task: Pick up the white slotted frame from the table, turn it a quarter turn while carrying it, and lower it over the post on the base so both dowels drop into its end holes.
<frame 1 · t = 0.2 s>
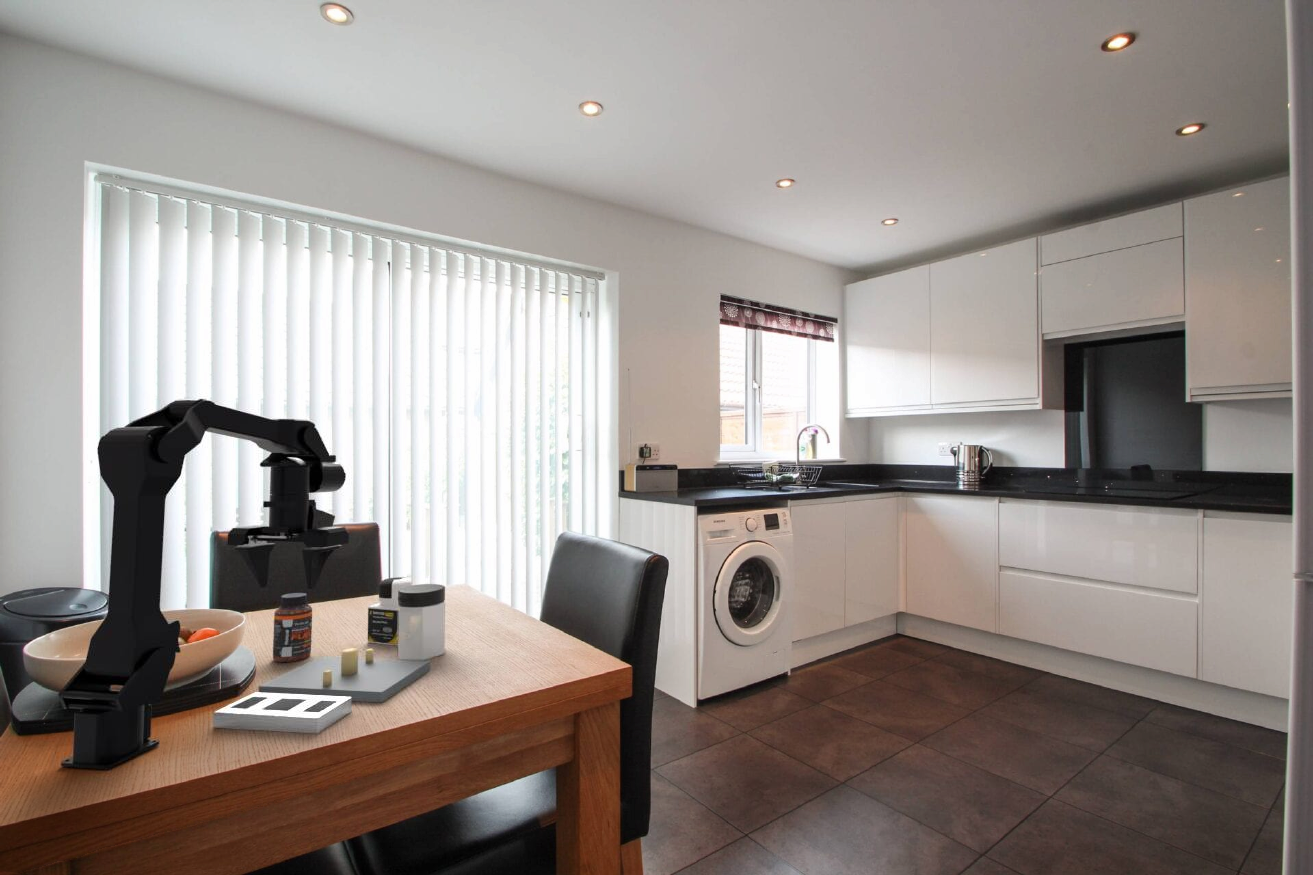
hand: (287, 588, 100), 14 cm above the table, tool pointing down, fingers open, 9 cm apart
medicine bottle: (394, 640, 120), on the table
jar: (421, 654, 111), on the table
post base: (349, 682, 96), on the table
supplement bottle: (292, 659, 108), on the table
white slotted frame: (284, 719, 82), on the table
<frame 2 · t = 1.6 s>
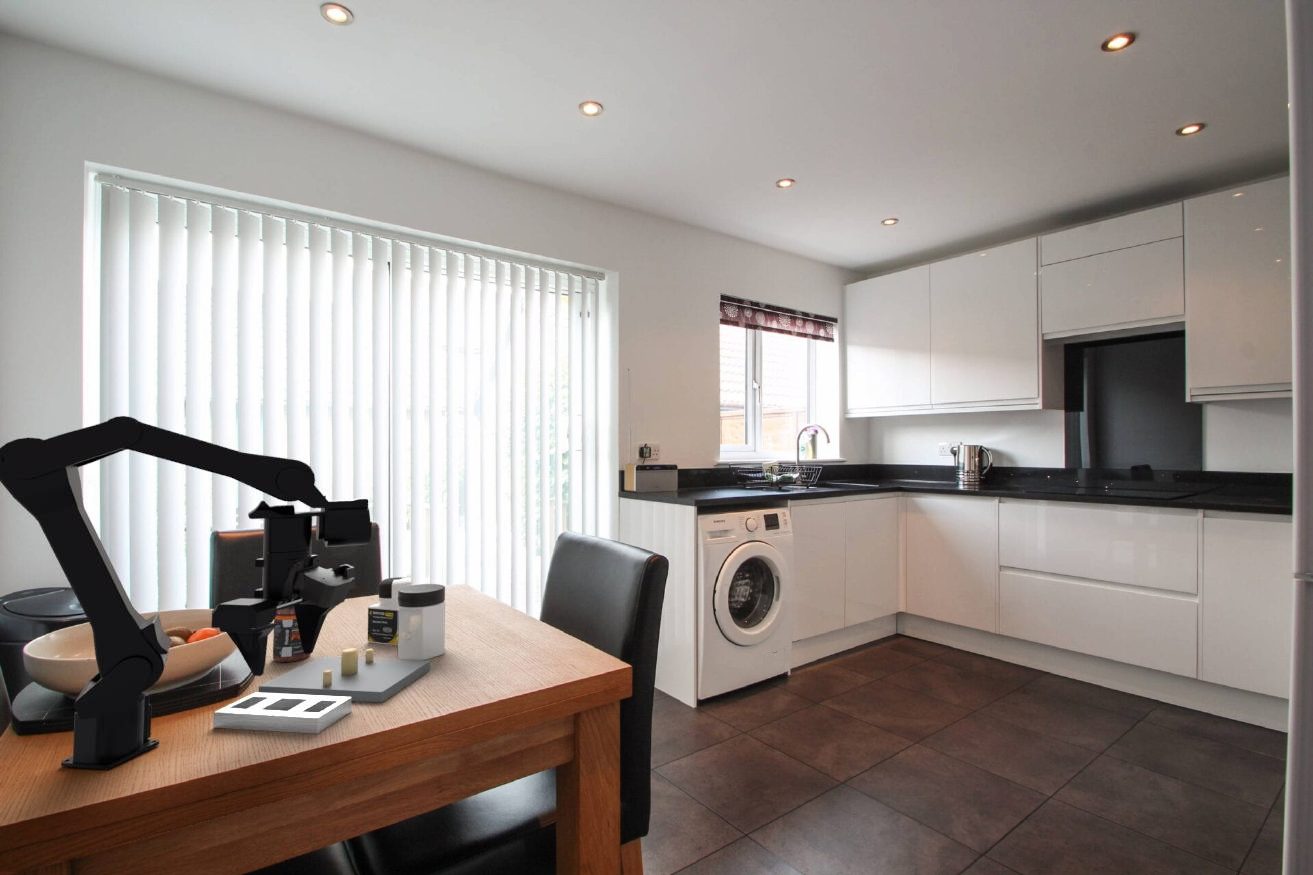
hand: (284, 663, 83), 7 cm above the table, tool pointing down, fingers open, 9 cm apart
nothing on the table moved.
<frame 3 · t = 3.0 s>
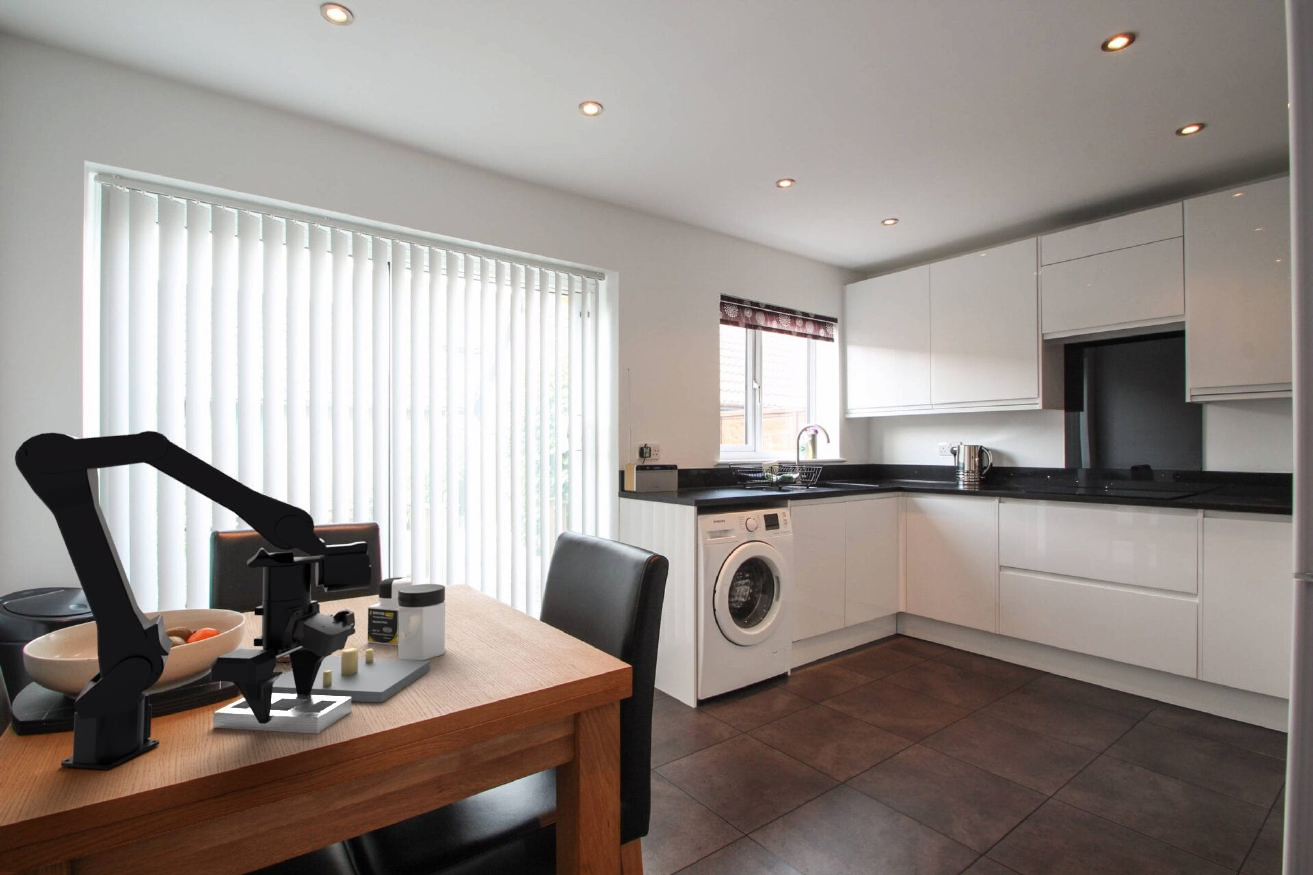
hand: (284, 711, 82), 1 cm above the table, tool pointing down, fingers closed on white slotted frame, 7 cm apart
white slotted frame: (284, 719, 82), on the table, touching gripper
everything else where it was.
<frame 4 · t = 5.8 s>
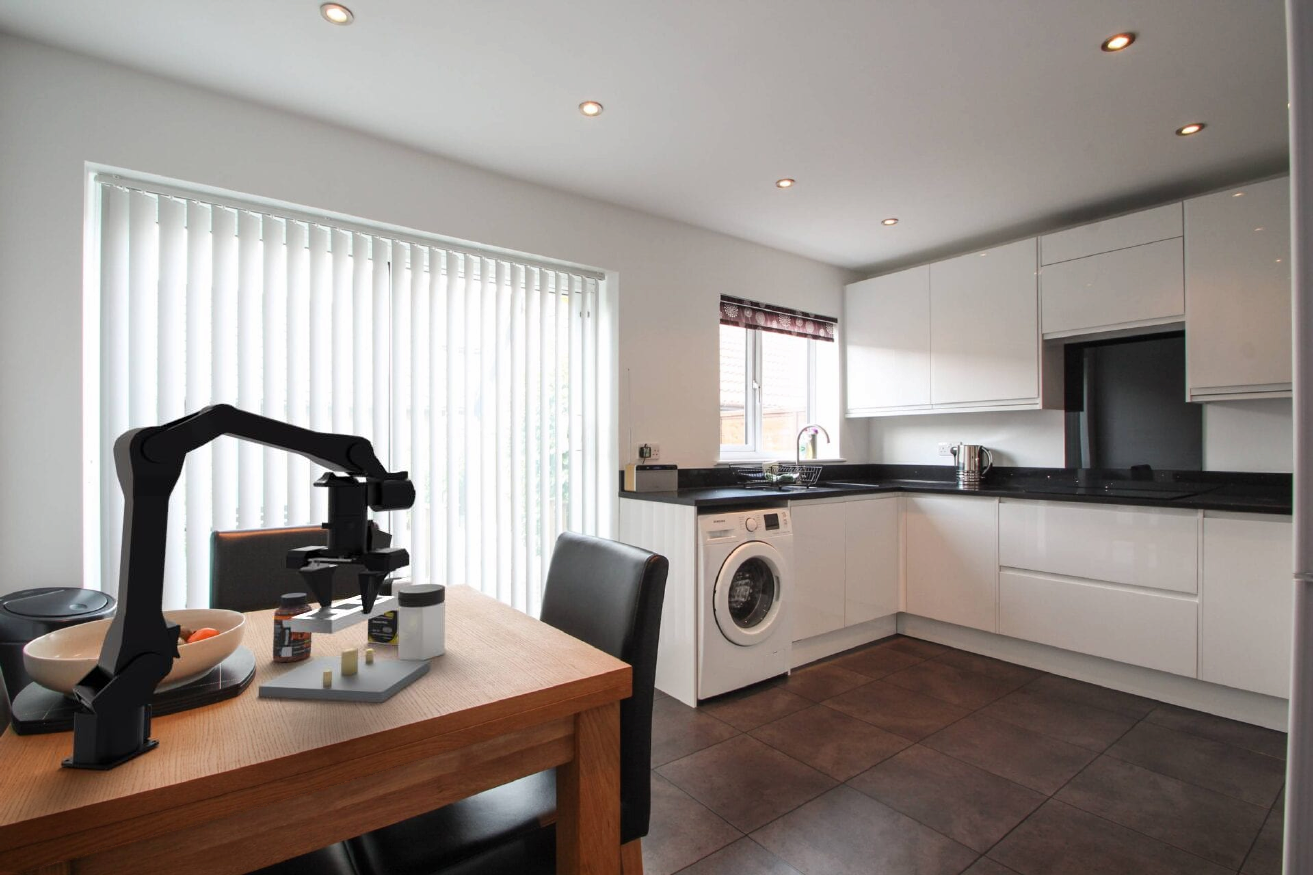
hand: (347, 612, 96), 11 cm above the table, tool pointing down, fingers closed on white slotted frame, 7 cm apart
white slotted frame: (347, 619, 96), point 10 cm above the table, touching gripper
everything else where it was.
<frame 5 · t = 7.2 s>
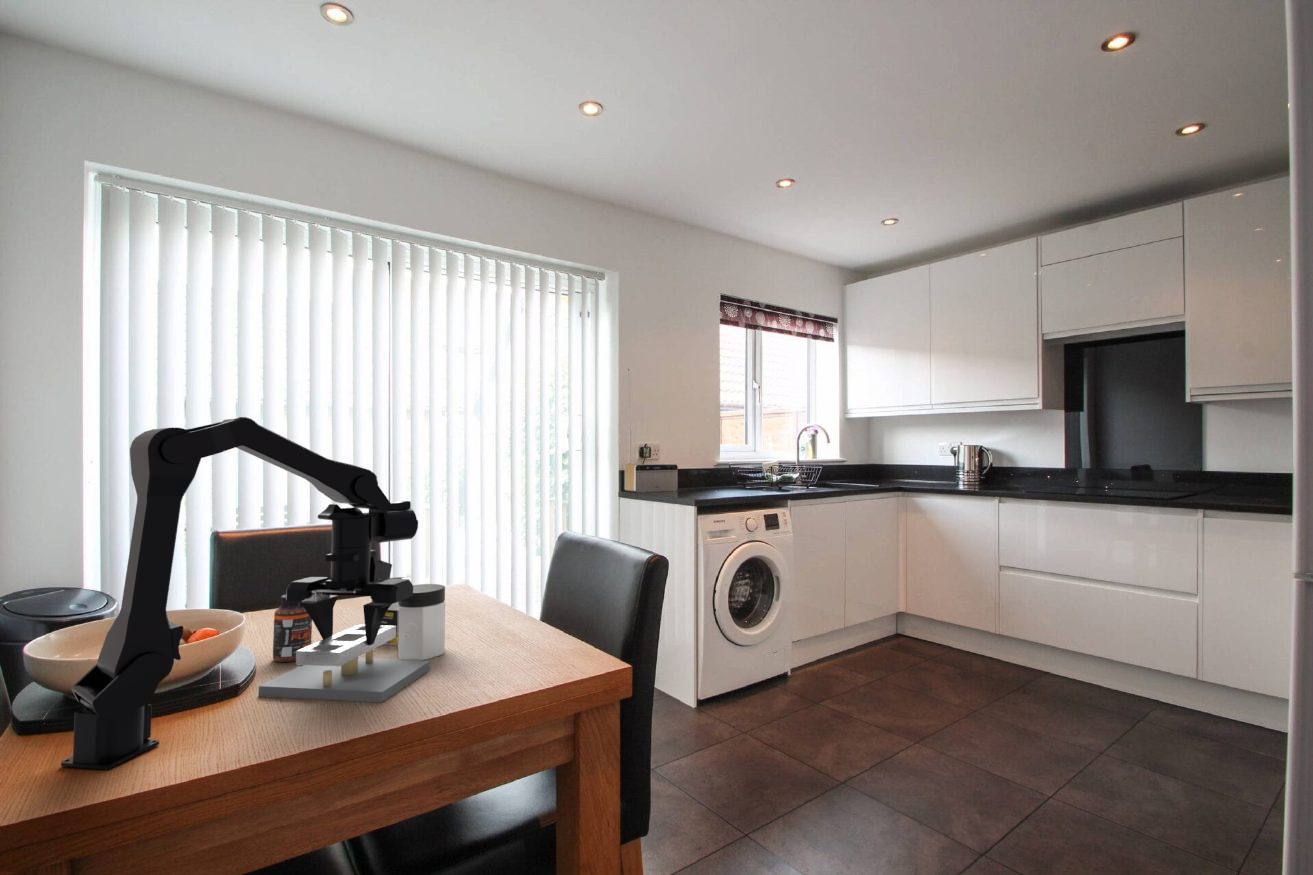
hand: (349, 643, 96), 6 cm above the table, tool pointing down, fingers closed on white slotted frame, 7 cm apart
white slotted frame: (349, 649, 96), point 5 cm above the table, touching gripper
everything else where it was.
when the fingers open (3 cm above the table, at t = 8.5 s): white slotted frame stays where it is, resting on post base.
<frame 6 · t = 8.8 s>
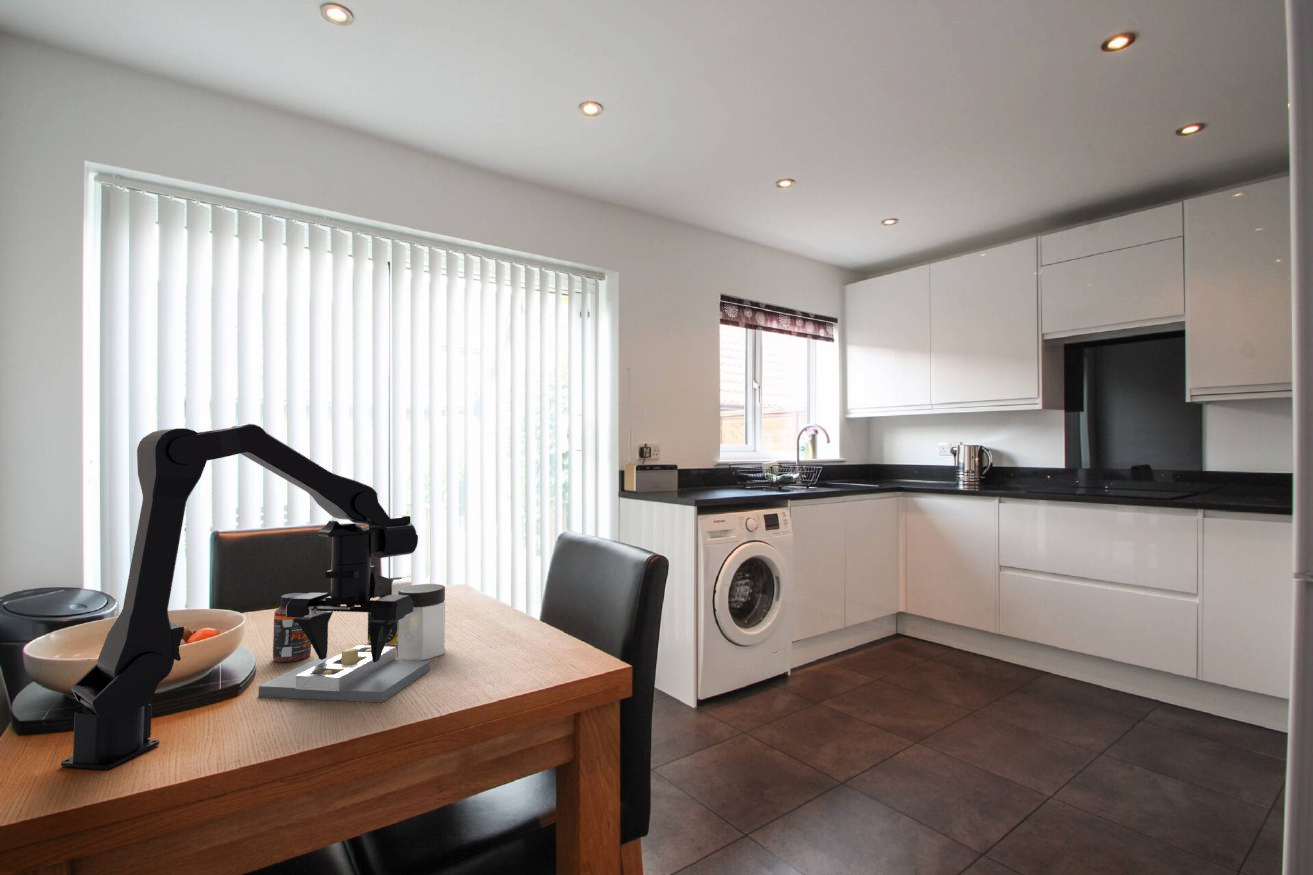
hand: (349, 660, 96), 3 cm above the table, tool pointing down, fingers open, 9 cm apart
white slotted frame: (349, 672, 96), point 1 cm above the table, touching post base
everything else where it was.
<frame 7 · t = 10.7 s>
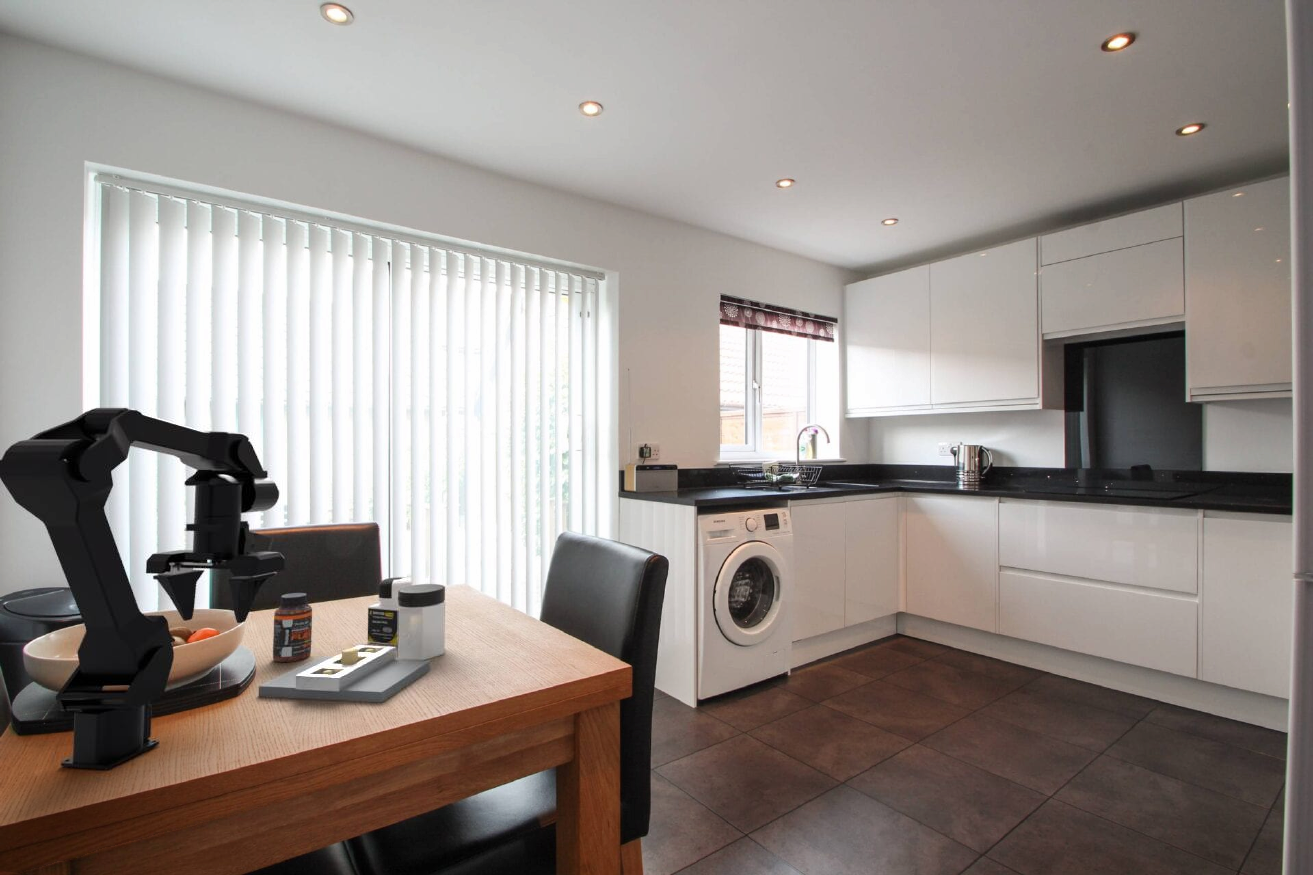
hand: (214, 621, 89), 12 cm above the table, tool pointing down, fingers open, 9 cm apart
nothing on the table moved.
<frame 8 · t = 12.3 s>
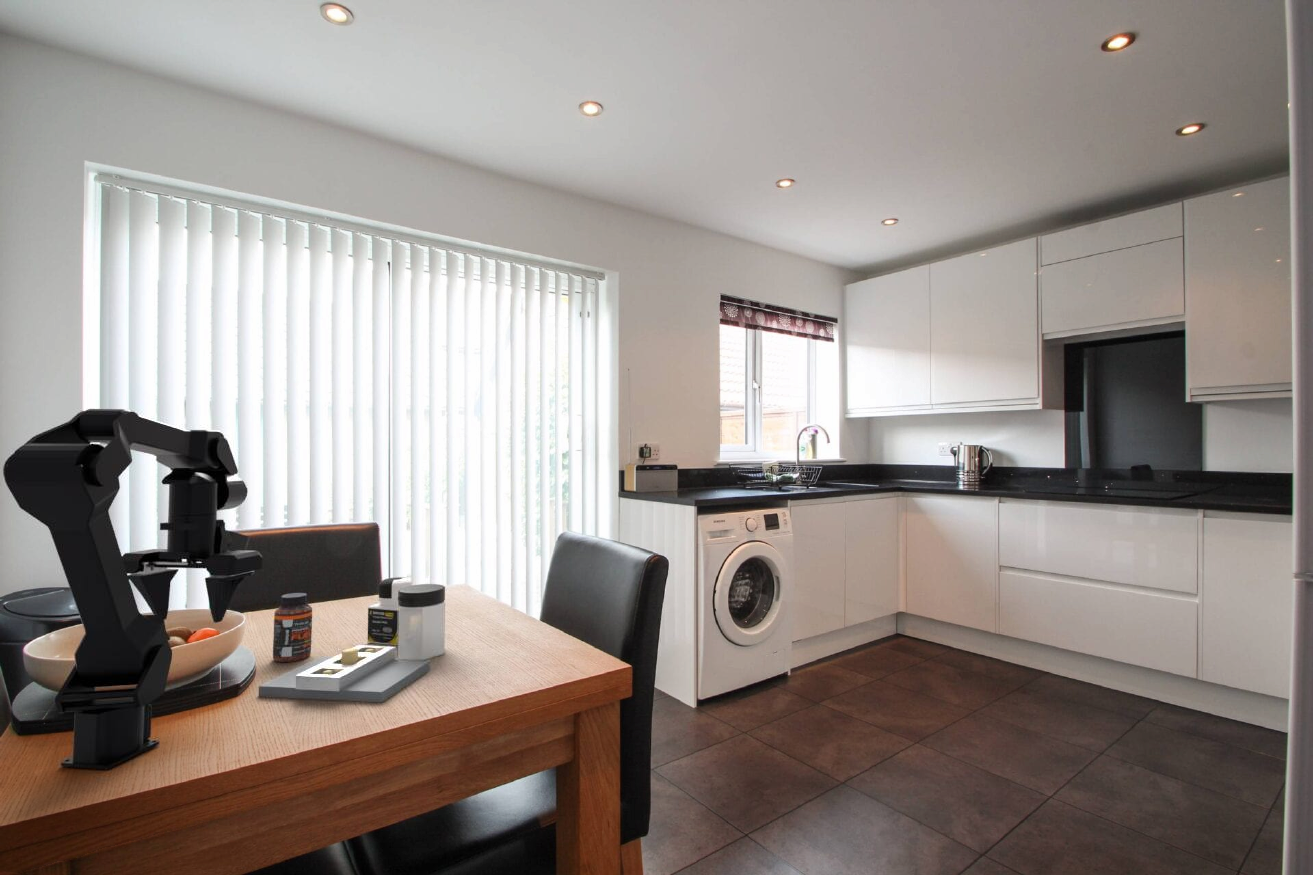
hand: (189, 620, 88), 12 cm above the table, tool pointing down, fingers open, 9 cm apart
nothing on the table moved.
at the end: white slotted frame 0.0 cm off-centre on the post base, point 1.5 cm above the post base's base; white slotted frame tilted 0°; the gripper is holding nothing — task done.
